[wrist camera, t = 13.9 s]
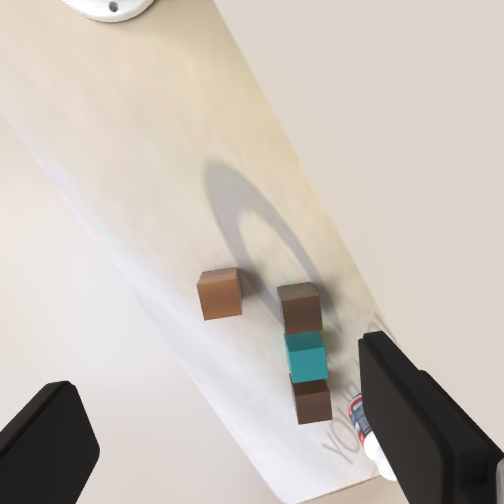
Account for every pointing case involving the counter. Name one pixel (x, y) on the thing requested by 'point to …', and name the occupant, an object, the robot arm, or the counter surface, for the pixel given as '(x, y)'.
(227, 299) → the caramel wooden cube
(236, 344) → the counter surface
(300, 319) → the taupe block
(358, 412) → the pill bottle
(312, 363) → the teal toy cube
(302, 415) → the brown cube
